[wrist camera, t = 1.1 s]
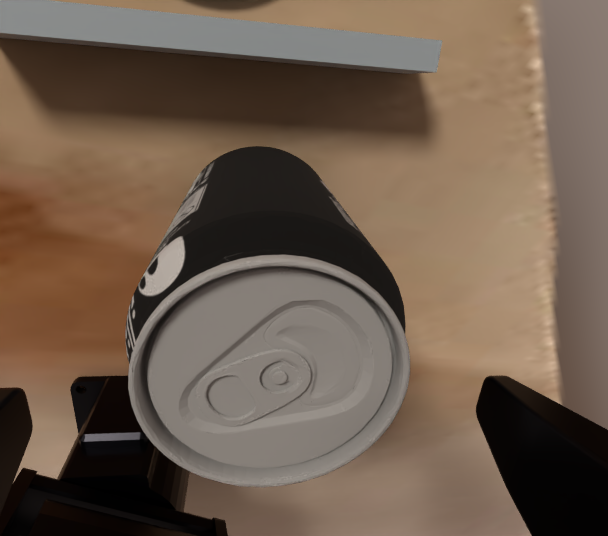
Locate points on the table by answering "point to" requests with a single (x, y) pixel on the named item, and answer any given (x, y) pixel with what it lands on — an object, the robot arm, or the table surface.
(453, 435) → the table surface
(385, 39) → the low wall
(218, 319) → the beverage can
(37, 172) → the table surface
